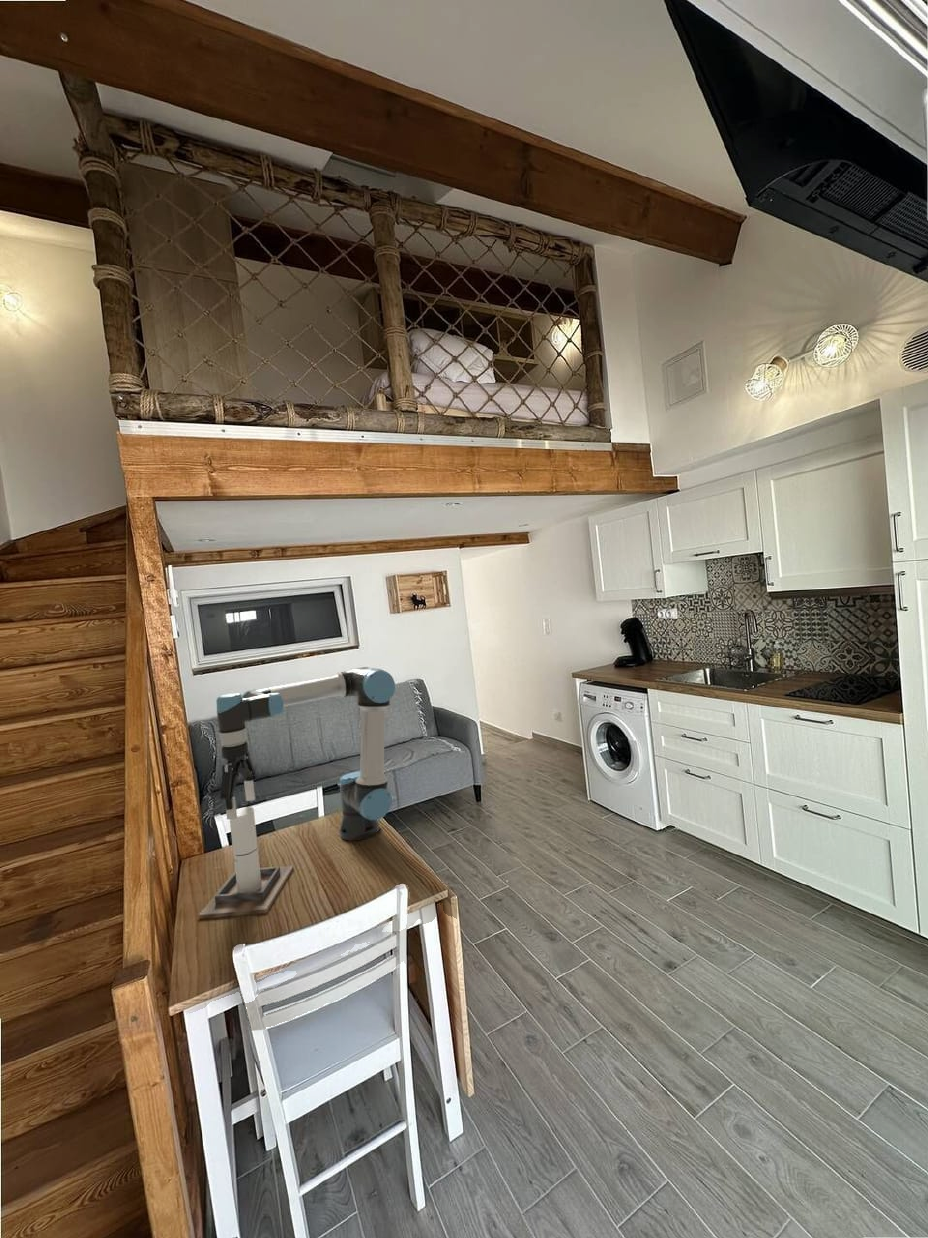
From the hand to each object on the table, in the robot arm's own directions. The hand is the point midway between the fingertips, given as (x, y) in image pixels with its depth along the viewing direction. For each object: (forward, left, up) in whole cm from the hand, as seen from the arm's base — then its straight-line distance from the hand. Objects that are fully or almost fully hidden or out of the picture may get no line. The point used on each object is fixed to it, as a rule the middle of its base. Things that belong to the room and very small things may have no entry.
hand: (241, 809), depth 159 cm
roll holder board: (0, 0, -27) cm, 27 cm away
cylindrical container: (0, 0, -26) cm, 26 cm away
